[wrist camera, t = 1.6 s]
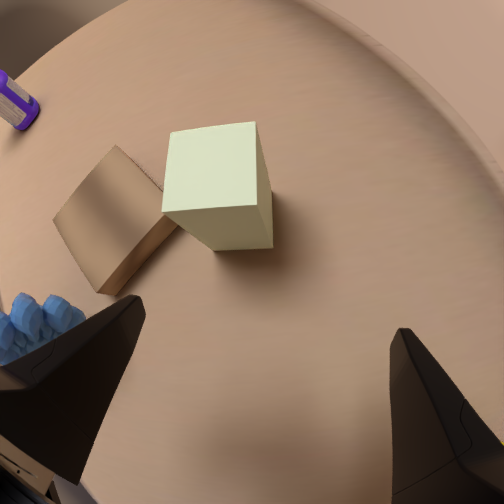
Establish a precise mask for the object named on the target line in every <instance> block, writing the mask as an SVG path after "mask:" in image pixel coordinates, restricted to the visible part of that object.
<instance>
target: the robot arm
mask: <svg viewBox="0 0 504 504" xmlns="http://www.w3.org/2000/svg"><path fill="white" fill-rule="evenodd" d="M145 317H146V312H145V309H144V306H143V302H142V299H141V297H140V296H137V295H132V294H131V295H128V296H126V297H124V298H123V299H121V300H119V301H117V302H116V303H114V304H112V305H111V306H109V307H107V308H105V309H104V310H102V311H100V312H99V313H97V314H95V315H93V316H92V317H90V318H88V319H87V320H85V321H83V322H82V323H80V324H78V325H77V326H75V327H73V328H72V329H70V330H68V331H66V332H65V333H63V334H61V335H60V336H58V337H57V339H56V338H55V339H53V340H51V341H50V342H48V343H46V344H45V345H43V346H41V347H40V348H38V349H36V350H34V351H32V352H30V353H28V354H26V355H24V356H22V357H20V358H18V359H16V360H14V361H12V362H10V363H8V364H6V365H4V366H0V504H61V502H60V499H59V497H58V494H57V491H56V488H55V485H54V481H52V480H53V477H54V475H55V474H57V475H59V476H60V477H62V478H64V479H66V480H67V481H69V482H71V483H73V484H75V485H76V486H77V485H78V484H79V481H80V478H81V476H82V473H83V470H84V467H85V465H86V462H87V460H88V457H89V454H90V452H91V449H92V447H93V444H94V441H95V439H96V436H97V434H98V431H99V429H100V426H101V424H102V422H103V419H104V417H105V414H106V412H107V410H108V407H109V405H110V403H111V400H112V398H113V396H114V394H115V391H116V389H117V387H118V384H119V382H120V380H121V378H122V376H123V373H124V371H125V369H126V367H127V365H128V363H129V360H130V358H131V356H132V354H133V351H134V349H135V346H136V343H137V340H138V337H139V335H140V332H141V329H142V326H143V323H144V320H145ZM464 398H465V397H464V396H463V394H462V393H461V392H460V390H459V389H458V388H457V386H456V385H455V384H454V382H453V381H452V380H451V378H450V377H449V376H448V375H447V373H446V372H445V371H444V369H443V368H442V367H441V366H440V364H439V363H438V362H437V361H436V359H435V358H434V357H433V356H432V354H431V353H430V352H429V351H428V349H427V348H426V347H425V346H424V345H423V343H422V342H421V341H420V340H419V338H418V337H417V336H416V335H415V334H414V332H413V331H412V330H411V329H409V328H399V329H398V330H397V332H396V334H395V336H394V338H393V341H392V343H391V345H390V404H391V420H392V447H393V478H392V502H391V504H504V445H503V444H502V443H501V441H500V440H499V439H498V438H497V437H496V436H495V434H494V433H493V432H492V431H491V430H490V429H489V427H488V426H487V425H486V424H485V423H484V421H483V420H482V419H481V418H480V417H479V415H478V414H477V413H476V412H475V410H474V409H473V408H472V406H471V405H470V404H469V402H468V401H467V400H466V399H464Z"/></svg>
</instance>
